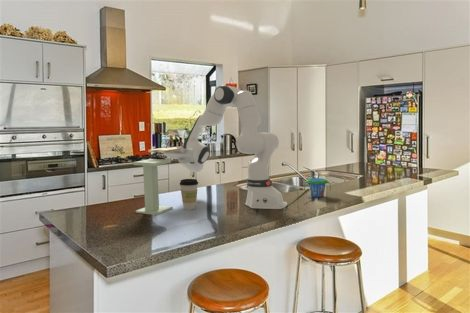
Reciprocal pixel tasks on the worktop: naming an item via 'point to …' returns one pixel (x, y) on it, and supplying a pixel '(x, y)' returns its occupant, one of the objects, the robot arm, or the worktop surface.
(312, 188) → the snack cup
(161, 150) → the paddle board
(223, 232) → the worktop surface
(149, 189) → the tall stand
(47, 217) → the worktop surface
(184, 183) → the coffee cup
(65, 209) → the worktop surface
